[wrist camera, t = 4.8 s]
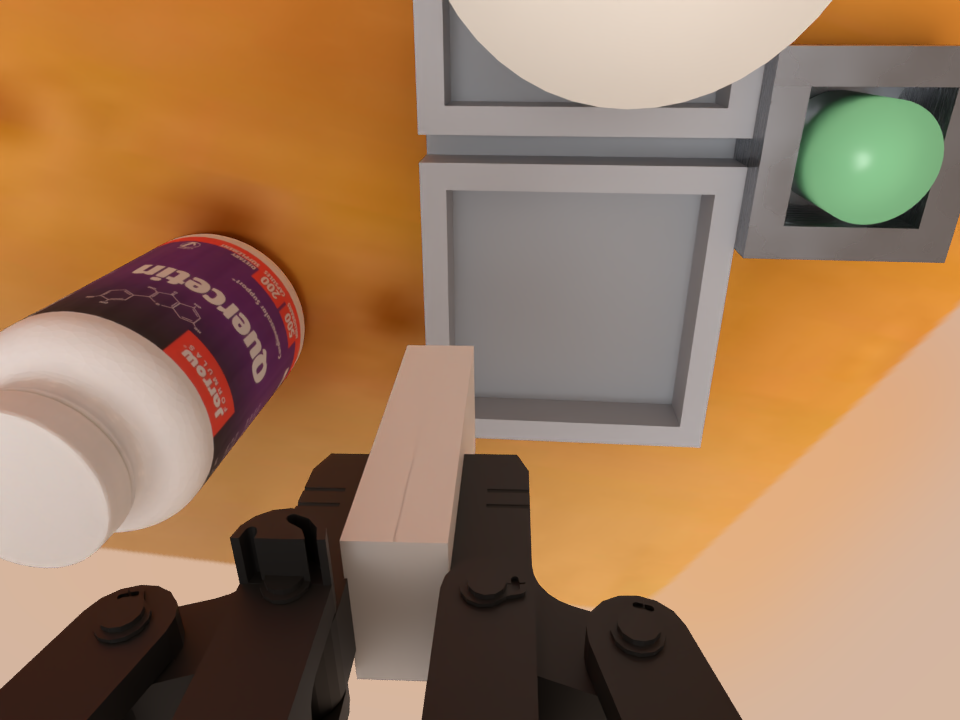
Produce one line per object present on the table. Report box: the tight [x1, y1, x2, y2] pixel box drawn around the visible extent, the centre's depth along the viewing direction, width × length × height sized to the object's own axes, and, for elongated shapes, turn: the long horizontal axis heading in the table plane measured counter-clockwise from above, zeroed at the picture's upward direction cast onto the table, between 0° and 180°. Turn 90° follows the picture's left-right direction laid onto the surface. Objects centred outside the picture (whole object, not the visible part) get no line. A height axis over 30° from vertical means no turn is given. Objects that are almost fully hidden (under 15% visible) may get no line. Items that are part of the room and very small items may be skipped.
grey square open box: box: [733, 44, 960, 263], centre depth 25 cm, size 7×7×4 cm
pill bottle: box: [0, 234, 305, 568], centre depth 26 cm, size 8×8×14 cm
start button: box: [791, 90, 944, 225], centre depth 24 cm, size 4×4×4 cm
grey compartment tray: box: [413, 0, 765, 448], centre depth 26 cm, size 12×26×3 cm, turn 0°
